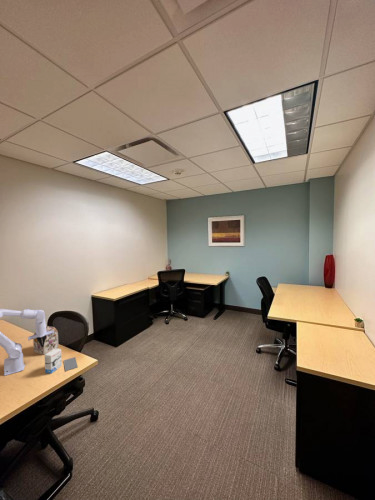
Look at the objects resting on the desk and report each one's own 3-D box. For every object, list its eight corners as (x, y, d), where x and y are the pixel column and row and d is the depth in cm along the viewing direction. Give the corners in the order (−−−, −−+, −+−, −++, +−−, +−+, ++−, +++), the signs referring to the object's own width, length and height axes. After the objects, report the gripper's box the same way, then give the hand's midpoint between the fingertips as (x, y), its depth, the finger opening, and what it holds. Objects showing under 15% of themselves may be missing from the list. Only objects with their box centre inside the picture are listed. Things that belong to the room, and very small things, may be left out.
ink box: (51, 374, 126) (50, 355, 126) (44, 373, 127) (44, 355, 127) (62, 365, 135) (61, 348, 134) (56, 364, 136) (55, 347, 135)
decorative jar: (43, 355, 147) (42, 331, 147) (33, 352, 151) (32, 329, 151) (59, 347, 159) (58, 324, 158) (48, 344, 163) (47, 322, 162)
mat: (65, 371, 129) (65, 370, 129) (63, 360, 140) (63, 360, 140) (77, 367, 133) (77, 366, 133) (75, 357, 144) (75, 356, 144)
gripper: (27, 333, 131) (29, 353, 132) (53, 326, 140) (55, 345, 140) (27, 329, 137) (29, 348, 138) (53, 323, 145) (54, 341, 146)
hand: (42, 346), depth 140 cm, fingers closed
